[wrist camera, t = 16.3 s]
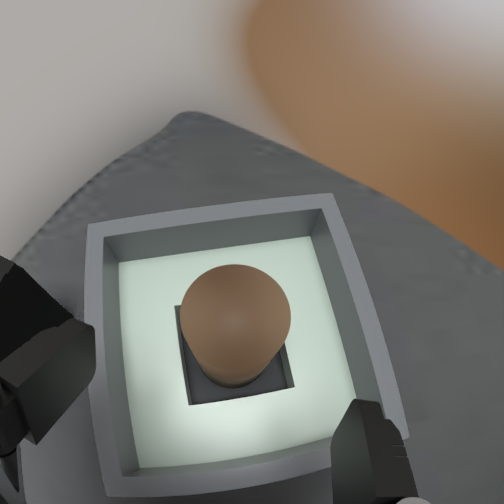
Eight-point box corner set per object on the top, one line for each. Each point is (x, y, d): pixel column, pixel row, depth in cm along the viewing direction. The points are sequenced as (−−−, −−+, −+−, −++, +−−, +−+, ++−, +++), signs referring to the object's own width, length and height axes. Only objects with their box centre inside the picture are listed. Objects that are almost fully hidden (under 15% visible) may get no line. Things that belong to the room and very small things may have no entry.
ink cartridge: (51, 305, 19) (-12, 244, 12) (75, 317, 19) (13, 258, 12) (24, 367, 16) (-54, 329, 10) (48, 383, 16) (-31, 351, 9)
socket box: (312, 237, 23) (331, 192, 18) (368, 435, 16) (409, 437, 12) (113, 265, 21) (88, 224, 16) (135, 479, 14) (106, 496, 10)
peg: (258, 318, 20) (277, 257, 13) (272, 381, 18) (302, 357, 11) (193, 328, 19) (174, 272, 12) (204, 392, 17) (188, 377, 10)
